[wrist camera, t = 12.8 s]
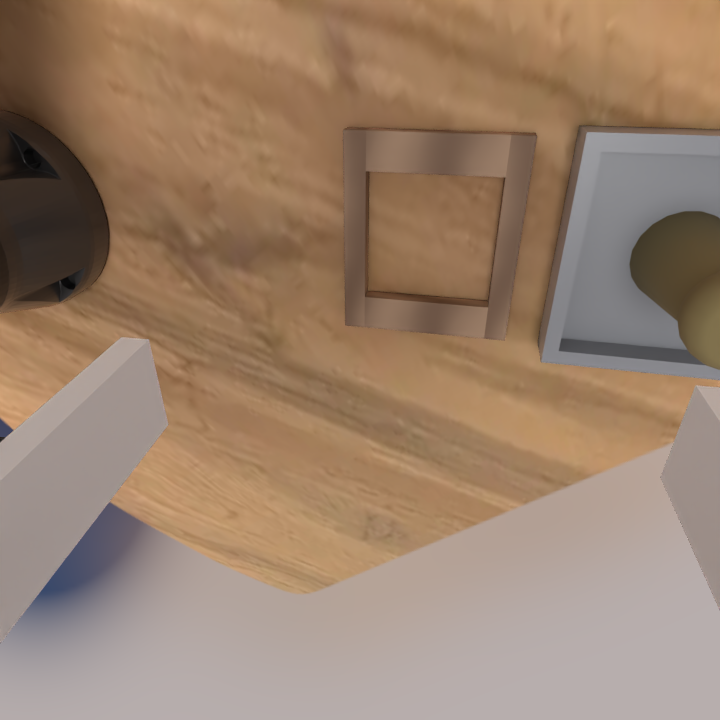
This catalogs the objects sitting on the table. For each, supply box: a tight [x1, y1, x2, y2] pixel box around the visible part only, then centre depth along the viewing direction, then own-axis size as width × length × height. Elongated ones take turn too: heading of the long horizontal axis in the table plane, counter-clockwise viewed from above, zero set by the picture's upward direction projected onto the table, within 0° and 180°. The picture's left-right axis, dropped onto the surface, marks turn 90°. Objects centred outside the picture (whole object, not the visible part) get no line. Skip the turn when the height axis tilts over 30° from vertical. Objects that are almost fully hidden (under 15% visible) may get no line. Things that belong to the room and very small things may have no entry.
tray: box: [538, 126, 720, 380], centre depth 34 cm, size 15×15×3 cm
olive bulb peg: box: [629, 211, 720, 370], centre depth 30 cm, size 6×6×11 cm
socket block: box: [343, 127, 537, 341], centre depth 38 cm, size 12×14×1 cm
